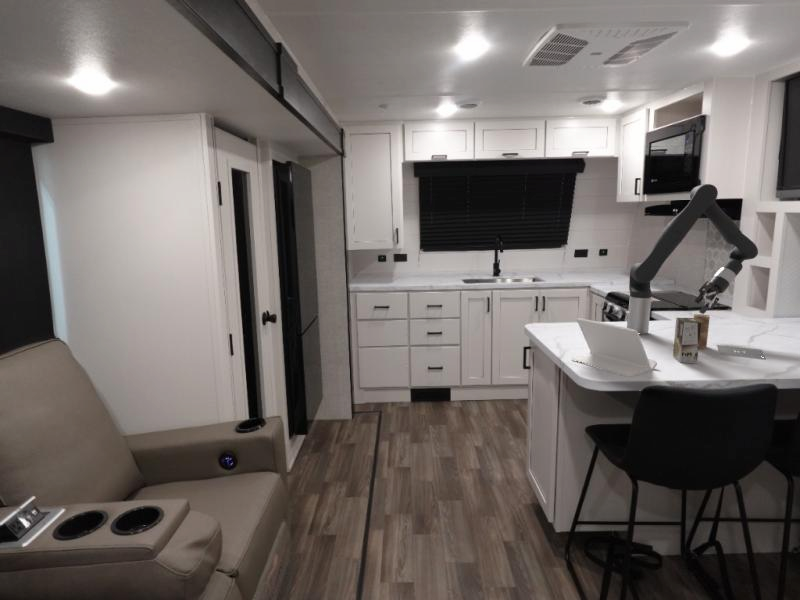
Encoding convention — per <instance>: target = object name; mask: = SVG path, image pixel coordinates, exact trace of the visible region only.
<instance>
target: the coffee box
mask: <svg viewBox="0 0 800 600" xmlns="http://www.w3.org/2000/svg"><path fill="white" fill-rule="evenodd" d="M675 318H676V319H675V327H674V328H675V329H674V339H673V341H674V342H673V352H672V353H673V354H672V357H673V358H674V359H676V360H677V361H678V362H679V363H682V364H698V357H699V350H700V349H699V340H700V331H701V322H699V321H698V320H696V319H694V317H675Z"/></svg>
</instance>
